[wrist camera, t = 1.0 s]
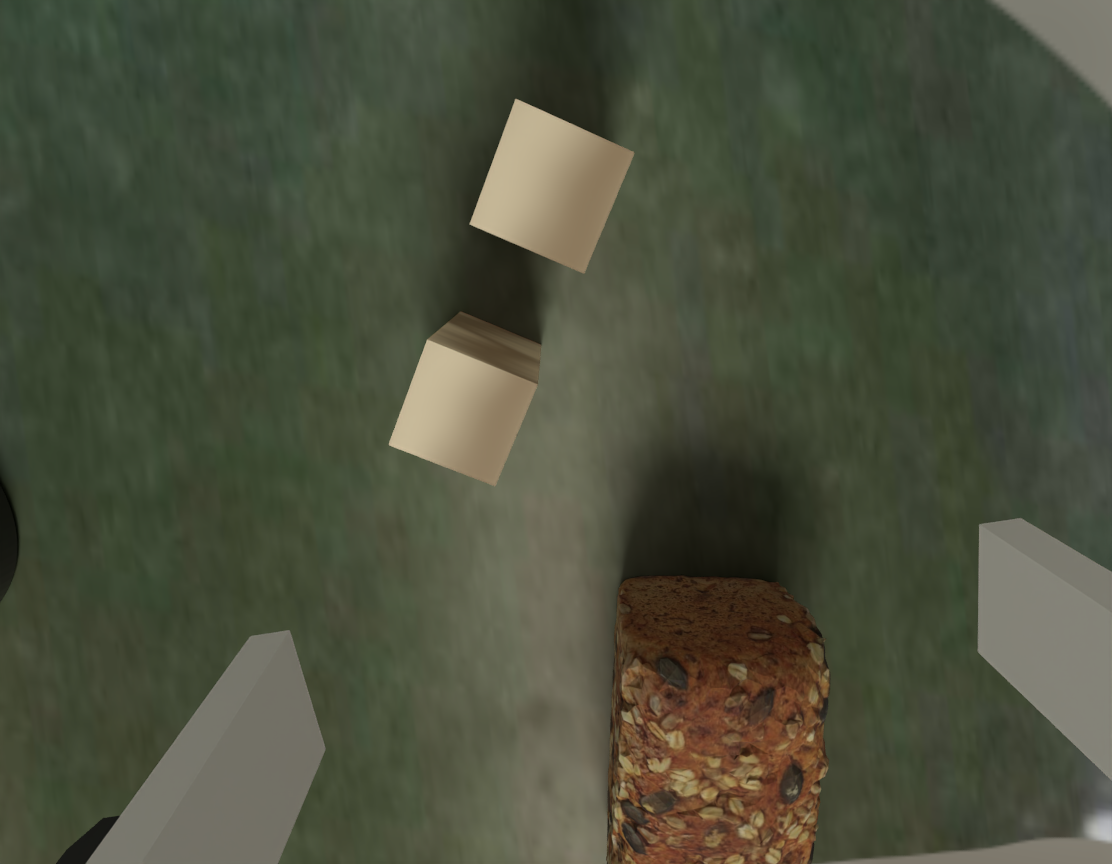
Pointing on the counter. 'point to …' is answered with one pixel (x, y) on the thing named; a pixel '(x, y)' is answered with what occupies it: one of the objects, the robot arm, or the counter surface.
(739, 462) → the counter surface
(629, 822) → the bread
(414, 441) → the light wood tall block
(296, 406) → the counter surface
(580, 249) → the light wood rectangular bar
